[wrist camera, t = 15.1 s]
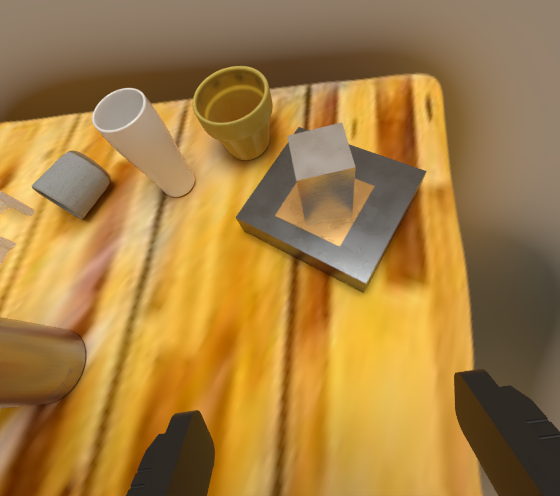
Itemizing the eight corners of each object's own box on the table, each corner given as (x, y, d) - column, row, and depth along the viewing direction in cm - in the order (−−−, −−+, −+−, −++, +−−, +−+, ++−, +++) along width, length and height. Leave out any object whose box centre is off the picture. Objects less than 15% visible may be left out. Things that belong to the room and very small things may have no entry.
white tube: (188, 207, 47) (126, 137, 33) (152, 197, 49) (79, 127, 35) (207, 170, 49) (156, 90, 35) (172, 162, 51) (111, 83, 37)
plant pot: (244, 183, 47) (221, 137, 38) (205, 147, 51) (177, 98, 42) (294, 141, 48) (284, 87, 39) (253, 109, 52) (235, 54, 43)
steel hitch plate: (244, 231, 44) (235, 217, 40) (301, 146, 47) (298, 126, 44) (363, 292, 37) (366, 283, 34) (418, 189, 41) (426, 170, 38)
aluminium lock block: (352, 216, 37) (355, 167, 28) (306, 226, 38) (296, 180, 29) (341, 176, 39) (341, 120, 31) (298, 186, 40) (286, 133, 31)
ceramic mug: (123, 183, 51) (88, 152, 44) (92, 224, 49) (50, 198, 42) (81, 166, 55) (42, 135, 48) (50, 204, 52) (5, 177, 46)
